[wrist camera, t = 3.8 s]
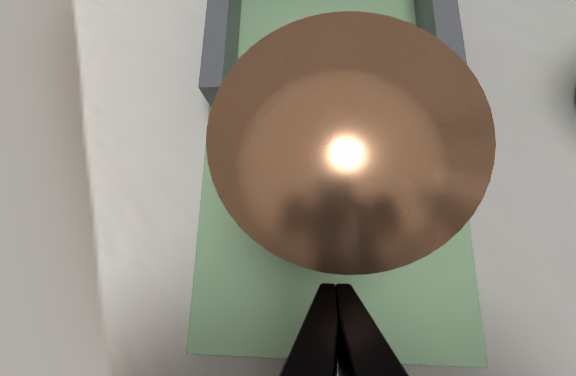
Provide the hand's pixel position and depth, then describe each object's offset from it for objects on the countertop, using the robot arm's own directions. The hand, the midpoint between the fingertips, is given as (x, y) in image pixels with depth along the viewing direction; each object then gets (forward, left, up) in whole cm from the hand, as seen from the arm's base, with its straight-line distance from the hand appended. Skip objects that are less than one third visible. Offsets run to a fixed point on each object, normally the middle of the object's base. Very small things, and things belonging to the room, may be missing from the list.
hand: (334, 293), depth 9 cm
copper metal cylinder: (+4, 0, -6) cm, 8 cm away
